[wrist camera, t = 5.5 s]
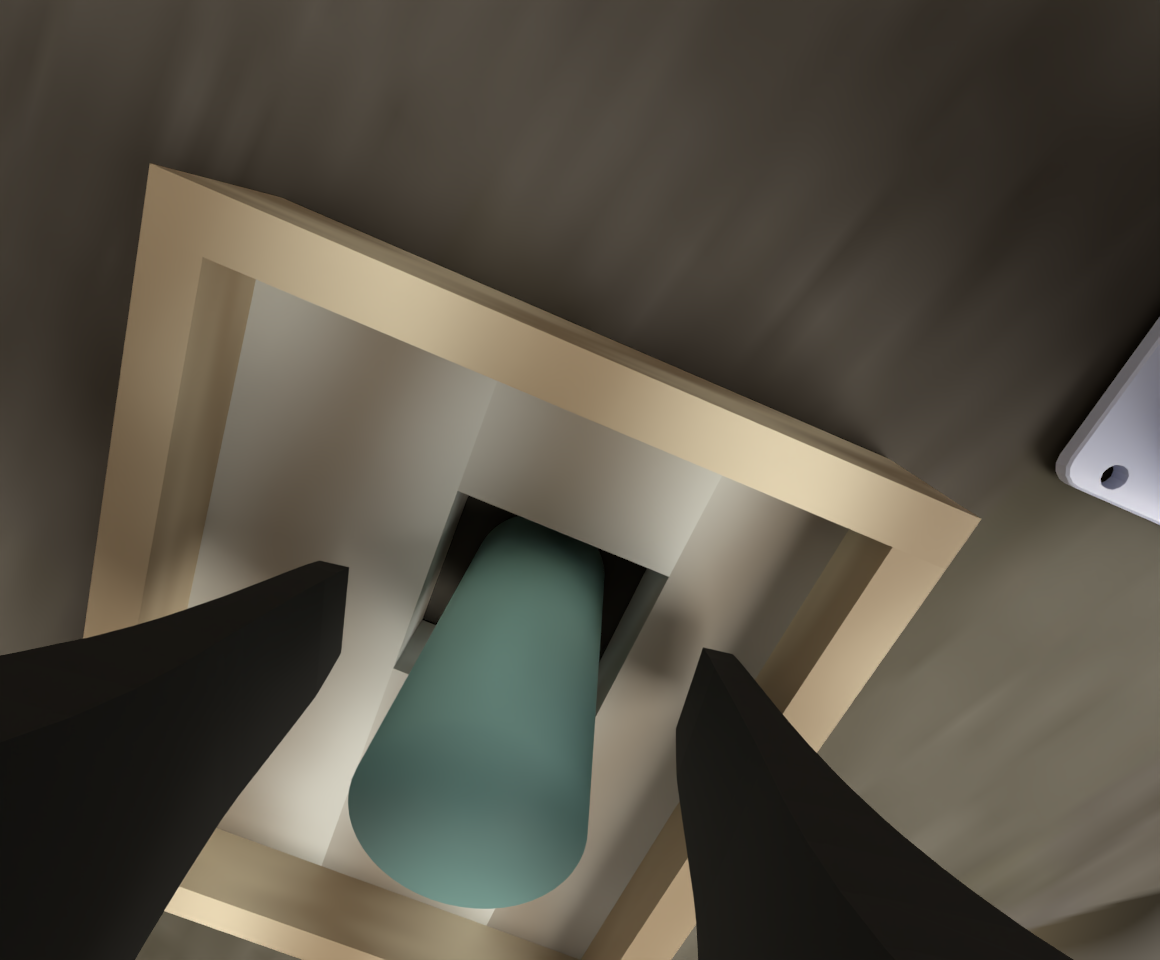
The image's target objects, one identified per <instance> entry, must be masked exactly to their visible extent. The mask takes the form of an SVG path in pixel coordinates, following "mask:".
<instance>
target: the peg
mask: <svg viewBox="0 0 1160 960" xmlns="http://www.w3.org/2000/svg"><path fill="white" fill-rule="evenodd" d="M604 579H605V572H604V565H603V560H602V557H601V555H600V552H599V550H598V548H597V547H595V546H592V545H590V544H587V543H585V542H582V541H580V540H577V539H575V538H572V537H570V536H568V535H565V534H563V533H560V532H558V531H555V530H553V529H550V528H548V527H545V526H543V525H541V524H538V523H536V522H533V521H531V520H528V519H526V518H523V517H521V516H516V517H513V518H510V519H508V520H506V521H504V522H502V523H501V524H499V525H498V526H496V527H495V528H494V529H493V530H492V531H491V532H490V533H489V534H488V535H487V536H486V537H485V539H484V541H483V542H482V544H481V545H480V547H479V549H478V551H477V553H476V554H475V556H474V558H473V560H472V562H471V563H470V565H469V567H468V569H467V571H466V572H465V574H464V576H463V578H462V580H461V581H460V583H459V585H458V587H457V589H456V590H455V592H454V594H453V596H452V598H451V599H450V601H449V603H448V605H447V607H446V608H445V610H444V612H443V614H442V616H441V617H440V619H439V621H438V623H437V625H436V626H435V628H434V630H433V632H432V633H431V635H430V637H429V639H428V641H427V642H426V644H425V646H424V648H423V650H422V651H421V653H420V655H419V657H418V659H417V660H416V662H415V664H414V666H413V668H412V669H411V671H410V673H409V675H408V677H407V678H406V680H405V682H404V684H403V686H402V687H401V689H400V691H399V693H398V695H397V696H396V698H395V700H394V702H393V704H392V705H391V707H390V709H389V711H388V713H387V714H386V716H385V718H384V720H383V722H382V723H381V725H380V727H379V729H378V731H377V732H376V734H375V736H374V738H373V740H372V741H371V743H370V745H369V747H368V749H367V750H366V752H365V754H364V756H363V758H362V759H361V761H360V763H359V765H358V767H357V768H356V771H355V773H354V775H353V777H352V780H351V784H350V788H349V795H348V809H349V816H350V820H351V824H352V828H353V830H354V832H355V835H356V837H357V839H358V841H359V843H360V844H361V846H362V848H363V849H364V851H365V852H366V853H367V855H368V856H369V857H370V858H371V860H372V861H373V862H374V863H375V864H376V865H377V866H378V867H379V868H380V869H381V870H382V871H383V872H385V873H386V874H387V875H388V876H389V877H391V878H392V879H393V880H395V881H396V882H398V883H399V884H401V885H402V886H404V887H405V888H407V889H409V890H411V891H413V892H415V893H417V894H419V895H421V896H424V897H426V898H429V899H431V900H434V901H438V902H441V903H444V904H448V905H453V906H458V907H465V908H474V909H494V908H505V907H510V906H516V905H520V904H523V903H526V902H530V901H532V900H535V899H537V898H539V897H542V896H544V895H545V894H547V893H549V892H550V891H552V890H554V889H555V888H556V887H558V886H559V885H560V884H561V883H563V882H564V881H565V880H566V879H567V878H568V877H569V876H570V874H571V873H572V872H573V871H574V869H575V868H576V866H577V865H578V863H579V862H580V859H581V857H582V855H583V853H584V850H585V846H586V842H587V835H588V821H589V806H590V791H591V776H592V761H593V746H594V731H595V715H596V700H597V685H598V670H599V655H600V640H601V625H602V609H603V594H604Z"/></svg>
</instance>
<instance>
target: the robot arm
mask: <svg viewBox="0 0 1160 960" xmlns="http://www.w3.org/2000/svg"><path fill="white" fill-rule="evenodd" d="M1112 466H1113V473H1112V475H1111V477H1110V478H1108V479H1107V480H1106V481H1104V482H1101V477H1102V474H1103V472H1104V471H1106V470H1107V469H1108V468H1109V467H1112ZM1056 474H1057V476H1058V478H1059V479H1060V480H1061V481H1063V482H1064V483H1065V484H1067V485H1069V486H1072V487H1074V488H1076V489H1079V490H1081V491H1083V492H1085V493H1088V494H1090V495H1092V496H1095V497H1097V498H1099V499H1101V500H1104V501H1106V502H1108V503H1111V504H1113V505H1115V506H1117V507H1120V508H1122V509H1124V510H1127V511H1129V512H1131V513H1134V514H1136V515H1138V516H1140V517H1143V518H1145V519H1147V520H1150V521H1152V522H1154V523H1156V524H1159V525H1160V317H1159V318H1158V320H1157V321H1156V322H1155V324H1154V325H1153V327H1152V328H1151V329H1150V331H1149V332H1148V333H1147V335H1146V336H1145V338H1144V339H1143V340H1142V342H1141V343H1140V345H1139V346H1138V347H1137V349H1136V350H1135V351H1134V353H1133V354H1132V356H1131V357H1130V358H1129V360H1128V361H1127V362H1126V364H1125V365H1124V367H1123V368H1122V369H1121V371H1120V372H1119V374H1118V375H1117V376H1116V378H1115V379H1114V380H1113V382H1112V383H1111V385H1110V386H1109V387H1108V389H1107V390H1106V391H1105V393H1104V394H1103V396H1102V397H1101V398H1100V400H1099V401H1098V402H1097V404H1096V405H1095V407H1094V408H1093V409H1092V411H1091V412H1090V414H1089V415H1088V416H1087V418H1086V419H1085V420H1084V422H1083V423H1082V425H1081V426H1080V427H1079V429H1078V430H1077V431H1076V433H1075V434H1074V436H1073V437H1072V438H1071V440H1070V441H1069V443H1068V444H1067V445H1066V447H1065V448H1064V449H1063V451H1062V452H1061V454H1060V455H1059V457H1058V460H1057V462H1056ZM348 575H349V567H346V566H342V565H337V564H333V563H328V562H324V561H320V560H319V561H316V562H313V563H309V564H307V565H304V566H301V567H298V568H296V569H293V570H290V571H288V572H285V573H282V574H280V575H277V576H275V577H272V578H270V579H267V580H265V581H262V582H259V583H257V584H254V585H252V586H249V587H246V588H244V589H241V590H239V591H236V592H233V593H231V594H228V595H226V596H223V597H220V598H217V599H214V600H211V601H208V602H205V603H203V604H200V605H197V606H194V607H191V608H188V609H185V610H182V611H179V612H176V613H173V614H170V615H168V616H164V617H161V618H158V619H155V620H151V621H148V622H145V623H141V624H138V625H134V626H131V627H127V628H123V629H119V630H115V631H112V632H108V633H104V634H100V635H96V636H92V637H88V638H84V639H79V640H75V641H70V642H65V643H60V644H55V645H50V646H46V647H41V648H36V649H31V650H26V651H21V652H16V653H12V654H6V655H1V656H0V960H135V959H136V957H137V955H138V953H139V952H140V950H141V948H142V947H143V945H144V943H145V941H146V940H147V938H148V936H149V935H150V933H151V932H152V930H153V928H154V927H155V925H156V923H157V922H158V920H159V918H160V917H161V915H162V914H163V912H164V910H165V909H166V907H167V905H168V904H169V902H170V901H171V899H172V897H173V896H174V894H175V892H176V891H177V889H178V887H179V886H180V884H181V883H182V881H183V879H184V878H185V876H186V874H187V873H188V871H189V870H190V868H191V867H192V865H193V864H194V862H195V860H196V859H197V857H198V856H199V854H200V853H201V851H202V849H203V848H204V846H205V845H206V843H207V842H208V840H209V839H210V837H211V835H212V834H213V832H214V831H215V829H216V828H217V826H218V825H219V823H220V821H221V820H222V818H223V817H224V816H225V814H226V813H227V812H228V810H229V809H230V807H231V806H232V805H233V803H234V802H235V800H236V799H237V798H238V796H239V795H240V794H241V792H242V791H243V790H244V788H245V787H246V786H247V785H248V783H249V782H250V781H251V780H252V778H253V777H254V776H255V774H256V773H257V772H258V771H259V769H260V768H261V767H262V765H263V764H264V763H265V762H266V760H267V759H268V758H269V756H270V755H271V754H272V753H273V751H274V750H275V749H276V748H277V746H278V745H279V744H280V742H281V741H282V740H283V739H284V737H285V736H286V735H287V733H288V732H289V731H290V730H291V728H292V727H293V726H294V724H295V723H296V722H297V720H298V719H299V718H300V717H301V715H302V714H303V713H304V711H305V710H306V709H307V707H308V706H309V705H310V703H311V702H312V701H313V699H314V698H315V697H316V695H317V694H318V692H319V690H320V689H321V687H322V685H323V684H324V682H325V680H326V679H327V677H328V675H329V674H330V672H331V670H332V668H333V667H334V665H335V663H336V661H337V659H338V658H339V656H340V654H341V649H342V639H343V628H344V617H345V607H346V596H347V586H348ZM676 776H677V785H678V793H679V800H680V807H681V815H682V822H683V829H684V835H685V842H686V849H687V856H688V863H689V870H690V877H691V883H692V890H693V897H694V906H695V916H696V925H697V943H698V960H1073V959H1071V958H1070V957H1068V956H1067V955H1065V954H1064V953H1062V952H1061V951H1059V950H1057V949H1056V948H1054V947H1053V946H1051V945H1050V944H1048V943H1047V942H1045V941H1043V940H1042V939H1040V938H1039V937H1037V936H1035V935H1034V934H1033V933H1031V932H1030V931H1028V930H1027V929H1025V928H1024V927H1022V926H1021V925H1019V924H1018V923H1017V922H1015V921H1014V920H1012V919H1011V918H1010V917H1008V916H1007V915H1005V914H1004V913H1003V912H1001V911H1000V910H998V909H997V908H996V907H994V906H993V905H991V904H990V903H989V902H987V901H986V900H984V899H983V898H982V897H980V896H979V895H977V894H976V893H975V892H973V891H972V890H971V889H969V888H968V887H967V886H965V885H964V884H963V883H961V882H960V881H959V880H957V879H956V878H955V877H954V876H952V875H951V874H950V873H948V872H947V871H946V870H944V869H943V868H942V867H941V866H939V865H938V864H937V863H936V862H934V861H933V860H932V859H931V858H930V857H928V856H927V855H926V854H925V853H923V852H922V851H921V850H920V849H918V848H917V847H916V846H915V845H914V844H912V843H911V842H910V841H909V840H907V839H906V838H905V837H904V836H903V835H901V834H900V833H899V832H898V831H897V830H896V829H895V828H893V827H892V826H891V825H890V824H889V823H888V822H887V821H885V820H884V819H883V818H882V817H881V816H880V815H879V814H878V813H877V812H876V811H875V810H873V809H872V808H871V807H870V806H869V805H868V804H867V803H866V802H865V801H864V800H863V799H862V798H861V797H860V796H858V795H857V794H856V793H855V792H854V791H853V790H852V789H851V788H850V787H849V786H848V785H847V784H846V783H845V782H844V781H843V780H842V779H841V778H840V777H839V776H838V775H837V774H836V773H835V772H834V771H833V770H832V769H831V768H830V767H829V766H828V765H827V763H826V762H825V761H824V760H823V759H822V758H821V757H820V756H819V755H818V754H817V753H816V752H815V751H814V750H813V748H812V747H811V746H810V745H809V744H808V743H807V742H806V741H805V740H804V738H803V737H802V736H801V735H800V734H799V733H798V732H797V730H796V729H795V728H794V727H793V726H792V725H791V723H790V722H789V721H788V720H787V719H786V718H785V716H784V715H783V714H782V713H781V712H780V710H779V709H778V708H777V707H776V705H775V704H774V703H773V702H772V701H771V699H770V698H769V697H768V696H767V694H766V693H765V692H764V691H763V689H762V688H761V687H760V686H759V685H758V683H757V682H756V681H755V680H754V678H753V677H752V676H751V675H750V673H749V672H748V671H747V670H746V668H745V667H744V666H743V665H742V664H741V662H740V661H739V660H738V659H737V658H736V657H735V656H734V655H733V654H730V653H726V652H721V651H717V650H713V649H708V648H704V647H703V649H702V652H701V655H700V658H699V661H698V664H697V667H696V670H695V673H694V676H693V679H692V682H691V685H690V688H689V691H688V694H687V697H686V700H685V703H684V706H683V709H682V712H681V715H680V718H679V721H678V724H677V727H676Z"/></svg>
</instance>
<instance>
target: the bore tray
mask: <svg viewBox="0 0 1160 960" xmlns="http://www.w3.org/2000/svg"><path fill="white" fill-rule="evenodd" d="M468 495H469V496H472V497H474V498H477V499H479V500H482V501H484V502H486V503H489V504H491V505H494V506H496V507H499V508H501V509H504V510H506V511H509V512H511V513H514V514H516V515H518V516H521V517H523V518H526V519H528V520H531V521H533V522H536V523H538V524H541V525H543V526H545V527H548V528H550V529H553V530H555V531H558V532H560V533H563V534H565V535H568V536H570V537H572V538H575V539H577V540H580V541H582V542H585V543H587V544H590V545H592V546H595V547H597V548H599V549H602V550H604V551H607V552H609V553H612V554H614V555H617V556H619V557H622V558H624V559H626V560H629V561H631V562H634V563H636V564H639V565H641V566H644V567H646V568H647V569H646V571H645V573H644V575H643V577H642V579H641V581H640V583H639V585H638V587H637V589H636V591H635V593H634V595H633V597H632V599H631V601H630V603H629V605H628V607H627V609H626V611H625V613H624V614H623V616H622V618H621V620H620V622H619V624H618V626H617V628H616V630H615V632H614V634H613V636H612V638H611V640H610V642H609V644H608V646H607V648H606V650H605V652H604V654H603V656H602V658H601V660H600V662H599V670H598V685H597V700H596V715H595V731H594V746H593V761H592V776H591V791H590V806H589V821H588V835H587V842H586V846H585V850H584V853H583V855H582V857H581V859H580V862H579V863H578V865H577V866H576V868H575V869H574V871H573V872H572V873H571V874H570V876H569V877H568V878H567V879H566V880H565V881H564V882H563V883H561V884H560V885H559V886H558V887H556V888H555V889H554V890H552V891H550V892H549V893H547V894H545V895H544V896H542V897H539V898H537V899H535V900H532V901H530V902H526V903H523V904H520V905H516V906H510V907H505V908H494V909H474V908H465V907H458V906H453V905H448V904H444V903H441V902H438V901H434V900H431V899H429V898H426V897H424V896H421V895H419V894H417V893H415V892H413V891H411V890H409V889H407V888H405V887H404V886H402V885H401V884H399V883H398V882H396V881H395V880H393V879H392V878H391V877H389V876H388V875H387V874H386V873H385V872H383V871H382V870H381V869H380V868H379V867H378V866H377V865H376V864H375V863H374V862H373V861H372V860H371V858H370V857H369V856H368V855H367V853H366V852H365V851H364V849H363V848H362V846H361V844H360V843H359V841H358V839H357V837H356V835H355V832H354V830H353V828H352V824H351V820H350V816H349V809H348V795H349V788H350V784H351V780H352V777H353V775H354V773H355V771H356V768H357V767H358V765H359V763H360V761H361V759H362V758H363V756H364V754H365V752H366V750H367V749H368V747H369V745H370V743H371V741H372V740H373V738H374V736H375V734H376V732H377V731H378V729H379V727H380V725H381V723H382V722H383V720H384V718H385V716H386V714H387V713H388V711H389V709H390V707H391V705H392V704H393V702H394V700H395V698H396V696H397V695H398V693H399V691H400V689H401V687H402V686H403V684H404V682H405V680H406V678H407V677H408V675H409V673H410V671H411V669H412V668H413V666H414V664H415V662H416V660H417V659H418V657H419V655H420V653H421V651H422V650H423V648H424V646H425V644H426V642H427V641H428V639H429V637H430V635H431V633H432V632H433V630H434V628H435V626H436V625H434V624H431V623H429V622H426V621H424V620H422V619H423V617H424V614H425V611H426V609H427V606H428V603H429V601H430V598H431V595H432V592H433V590H434V587H435V584H436V582H437V579H438V576H439V574H440V571H441V568H442V565H443V563H444V560H445V557H446V555H447V552H448V549H449V547H450V544H451V541H452V538H453V536H454V533H455V530H456V528H457V525H458V522H459V520H460V517H461V514H462V511H463V509H464V506H465V503H466V501H467V498H468ZM980 520H981V519H980V518H979V517H977V516H976V515H974V514H973V513H971V512H970V511H968V510H967V509H965V508H964V507H962V506H960V505H959V504H957V503H956V502H954V501H953V500H951V499H950V498H948V497H947V496H945V495H944V494H942V493H940V492H939V491H937V490H936V489H934V488H933V487H931V486H930V485H928V484H927V483H925V482H924V481H922V480H920V479H919V478H917V477H916V476H914V475H913V474H911V473H910V472H908V471H907V470H905V469H904V468H902V467H900V466H899V465H897V464H896V463H894V462H893V461H891V460H890V459H888V458H886V457H883V456H881V455H879V454H876V453H874V452H872V451H869V450H867V449H865V448H862V447H860V446H858V445H855V444H853V443H851V442H848V441H846V440H844V439H841V438H839V437H837V436H834V435H832V434H830V433H827V432H825V431H823V430H820V429H818V428H816V427H813V426H811V425H809V424H807V423H804V422H802V421H800V420H797V419H795V418H793V417H790V416H788V415H786V414H783V413H781V412H779V411H776V410H774V409H772V408H769V407H767V406H765V405H762V404H760V403H758V402H755V401H753V400H751V399H748V398H746V397H744V396H741V395H739V394H737V393H734V392H732V391H730V390H728V389H725V388H723V387H721V386H718V385H716V384H714V383H711V382H709V381H707V380H704V379H702V378H700V377H697V376H695V375H693V374H690V373H688V372H686V371H683V370H681V369H679V368H676V367H674V366H672V365H669V364H667V363H665V362H662V361H660V360H658V359H655V358H653V357H651V356H648V355H646V354H644V353H642V352H639V351H637V350H635V349H632V348H630V347H628V346H625V345H623V344H621V343H618V342H616V341H614V340H611V339H609V338H607V337H604V336H602V335H600V334H597V333H595V332H593V331H590V330H588V329H586V328H583V327H581V326H579V325H576V324H574V323H572V322H569V321H567V320H565V319H562V318H560V317H558V316H556V315H553V314H551V313H549V312H546V311H544V310H542V309H539V308H537V307H535V306H532V305H530V304H528V303H525V302H523V301H521V300H518V299H516V298H514V297H511V296H509V295H507V294H504V293H502V292H500V291H497V290H495V289H493V288H490V287H488V286H486V285H483V284H481V283H479V282H477V281H474V280H472V279H470V278H467V277H465V276H463V275H460V274H458V273H456V272H453V271H451V270H449V269H446V268H444V267H442V266H439V265H437V264H435V263H432V262H430V261H428V260H425V259H423V258H421V257H418V256H416V255H414V254H411V253H409V252H407V251H404V250H402V249H400V248H397V247H395V246H393V245H391V244H388V243H386V242H384V241H381V240H379V239H377V238H374V237H372V236H370V235H367V234H365V233H363V232H360V231H358V230H356V229H353V228H351V227H349V226H346V225H344V224H342V223H339V222H337V221H335V220H332V219H330V218H328V217H325V216H323V215H321V214H318V213H316V212H314V211H312V210H309V209H307V208H305V207H302V206H300V205H298V204H295V203H293V202H291V201H288V200H286V199H284V198H281V197H278V196H274V195H270V194H266V193H262V192H259V191H255V190H251V189H247V188H243V187H239V186H236V185H232V184H228V183H224V182H220V181H216V180H212V179H209V178H205V177H201V176H197V175H193V174H189V173H186V172H182V171H178V170H174V169H170V168H166V167H163V166H159V165H155V164H151V163H150V166H149V173H148V180H147V187H146V194H145V202H144V209H143V216H142V223H141V230H140V237H139V244H138V251H137V258H136V266H135V273H134V280H133V287H132V294H131V301H130V308H129V315H128V322H127V330H126V337H125V344H124V351H123V358H122V365H121V372H120V379H119V387H118V394H117V401H116V408H115V415H114V422H113V429H112V436H111V443H110V451H109V458H108V465H107V472H106V479H105V486H104V493H103V500H102V507H101V515H100V522H99V529H98V536H97V543H96V550H95V557H94V564H93V572H92V579H91V586H90V593H89V600H88V607H87V614H86V621H85V628H84V636H83V639H84V638H88V637H92V636H96V635H100V634H104V633H108V632H112V631H115V630H119V629H123V628H127V627H131V626H134V625H138V624H141V623H145V622H148V621H151V620H155V619H158V618H161V617H164V616H168V615H170V614H173V613H176V612H179V611H182V610H185V609H188V608H191V607H194V606H197V605H200V604H203V603H205V602H208V601H211V600H214V599H217V598H220V597H223V596H226V595H228V594H231V593H233V592H236V591H239V590H241V589H244V588H246V587H249V586H252V585H254V584H257V583H259V582H262V581H265V580H267V579H270V578H272V577H275V576H277V575H280V574H282V573H285V572H288V571H290V570H293V569H296V568H298V567H301V566H304V565H307V564H309V563H313V562H316V561H319V560H320V561H324V562H328V563H333V564H337V565H342V566H346V567H349V575H348V586H347V596H346V607H345V617H344V628H343V639H342V649H341V654H340V656H339V658H338V659H337V661H336V663H335V665H334V667H333V668H332V670H331V672H330V674H329V675H328V677H327V679H326V680H325V682H324V684H323V685H322V687H321V689H320V690H319V692H318V694H317V695H316V697H315V698H314V699H313V701H312V702H311V703H310V705H309V706H308V707H307V709H306V710H305V711H304V713H303V714H302V715H301V717H300V718H299V719H298V720H297V722H296V723H295V724H294V726H293V727H292V728H291V730H290V731H289V732H288V733H287V735H286V736H285V737H284V739H283V740H282V741H281V742H280V744H279V745H278V746H277V748H276V749H275V750H274V751H273V753H272V754H271V755H270V756H269V758H268V759H267V760H266V762H265V763H264V764H263V765H262V767H261V768H260V769H259V771H258V772H257V773H256V774H255V776H254V777H253V778H252V780H251V781H250V782H249V783H248V785H247V786H246V787H245V788H244V790H243V791H242V792H241V794H240V795H239V796H238V798H237V799H236V800H235V802H234V803H233V805H232V806H231V807H230V809H229V810H228V812H227V813H226V814H225V816H224V817H223V818H222V820H221V821H220V823H219V825H218V826H217V828H216V829H215V831H214V832H213V834H212V835H211V837H210V839H209V840H208V842H207V843H206V845H205V846H204V848H203V849H202V851H201V853H200V854H199V856H198V857H197V859H196V860H195V862H194V864H193V865H192V867H191V868H190V870H189V871H188V873H187V874H186V876H185V878H184V879H183V881H182V883H181V884H180V886H179V887H178V889H177V891H176V892H175V894H174V896H173V897H172V899H171V901H170V902H169V904H168V905H167V907H166V909H165V910H164V911H166V912H169V913H172V914H174V915H177V916H180V917H183V918H186V919H189V920H191V921H194V922H197V923H200V924H203V925H206V926H209V927H211V928H214V929H217V930H220V931H223V932H226V933H228V934H231V935H234V936H237V937H240V938H243V939H245V940H248V941H251V942H254V943H257V944H260V945H263V946H265V947H268V948H271V949H274V950H277V951H280V952H282V953H285V954H288V955H291V956H294V957H297V958H300V959H302V960H671V959H672V958H673V956H674V955H675V953H676V952H677V951H678V949H679V948H680V946H681V945H682V943H683V942H684V941H685V939H686V938H687V936H688V935H689V934H690V932H691V931H692V929H693V928H694V926H695V925H696V916H695V906H694V897H693V890H692V883H691V877H690V870H689V863H688V856H687V849H686V842H685V835H684V829H683V822H682V815H681V807H680V800H679V793H678V785H677V776H676V727H677V724H678V721H679V718H680V715H681V712H682V709H683V706H684V703H685V700H686V697H687V694H688V691H689V688H690V685H691V682H692V679H693V676H694V673H695V670H696V667H697V664H698V661H699V658H700V655H701V652H702V649H703V647H704V648H708V649H713V650H717V651H721V652H726V653H730V654H733V655H734V656H735V657H736V658H737V659H738V660H739V661H740V662H741V664H742V665H743V666H744V667H745V668H746V670H747V671H748V672H749V673H750V675H751V676H752V677H753V678H754V680H755V681H756V682H757V683H758V685H759V686H760V687H761V688H762V689H763V691H764V692H765V693H766V694H767V696H768V697H769V698H770V699H771V701H772V702H773V703H774V704H775V705H776V707H777V708H778V709H779V710H780V712H781V713H782V714H783V715H784V716H785V718H786V719H787V720H788V721H789V722H790V723H791V725H792V726H793V727H794V728H795V729H796V730H797V732H798V733H799V734H800V735H801V736H802V737H803V738H804V740H805V741H806V742H807V743H808V744H809V745H810V746H811V747H812V748H813V750H814V751H815V752H816V753H817V752H818V750H819V749H820V747H821V746H822V745H823V743H824V742H825V740H826V739H827V738H828V736H829V735H830V733H831V732H832V730H833V729H834V728H835V726H836V725H837V723H838V722H839V720H840V719H841V718H842V716H843V715H844V713H845V712H846V711H847V709H848V708H849V706H850V705H851V703H852V702H853V701H854V699H855V698H856V696H857V695H858V693H859V692H860V691H861V689H862V688H863V686H864V685H865V684H866V682H867V681H868V679H869V678H870V676H871V675H872V674H873V672H874V671H875V669H876V668H877V667H878V665H879V664H880V662H881V661H882V659H883V658H884V657H885V655H886V654H887V652H888V651H889V649H890V648H891V647H892V645H893V644H894V642H895V641H896V640H897V638H898V637H899V635H900V634H901V632H902V631H903V630H904V628H905V627H906V625H907V624H908V622H909V621H910V620H911V618H912V617H913V615H914V614H915V613H916V611H917V610H918V608H919V607H920V605H921V604H922V603H923V601H924V600H925V598H926V597H927V595H928V594H929V593H930V591H931V590H932V588H933V587H934V586H935V584H936V583H937V581H938V580H939V578H940V577H941V576H942V574H943V573H944V571H945V570H946V569H947V567H948V566H949V564H950V563H951V561H952V560H953V559H954V557H955V556H956V554H957V553H958V551H959V550H960V549H961V547H962V546H963V544H964V543H965V542H966V540H967V539H968V537H969V536H970V534H971V533H972V532H973V530H974V529H975V527H976V526H977V524H978V523H979V522H980Z"/></svg>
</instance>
